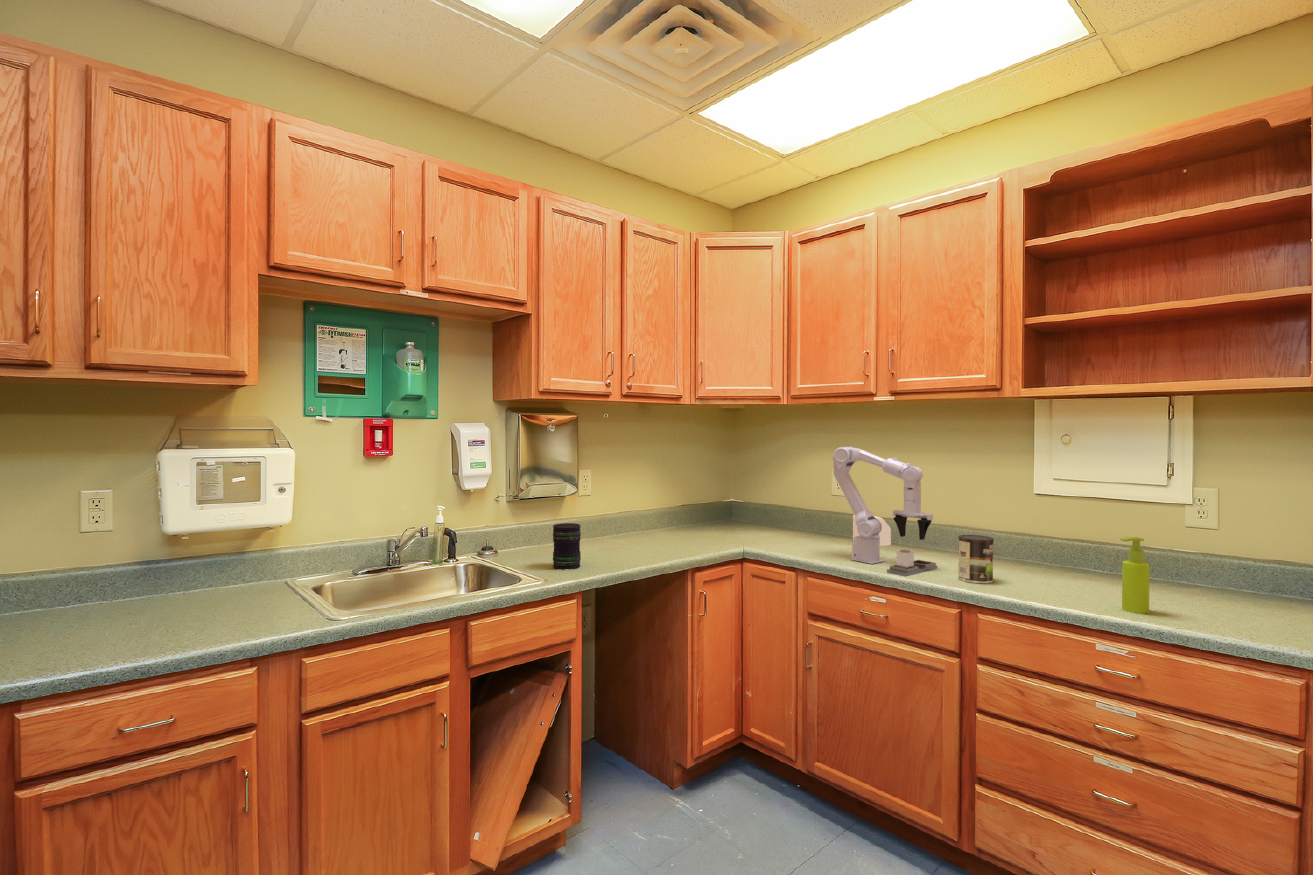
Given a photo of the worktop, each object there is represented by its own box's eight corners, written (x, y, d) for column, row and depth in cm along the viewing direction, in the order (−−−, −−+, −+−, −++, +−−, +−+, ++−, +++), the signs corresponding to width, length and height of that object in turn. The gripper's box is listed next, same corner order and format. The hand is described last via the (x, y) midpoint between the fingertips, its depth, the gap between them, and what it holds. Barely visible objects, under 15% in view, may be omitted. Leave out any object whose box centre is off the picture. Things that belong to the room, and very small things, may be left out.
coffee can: (998, 580, 205) (999, 537, 205) (984, 585, 198) (985, 541, 198) (966, 574, 213) (967, 533, 213) (952, 579, 206) (952, 536, 206)
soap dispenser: (1113, 607, 174) (1113, 535, 174) (1136, 607, 174) (1137, 535, 174) (1130, 613, 168) (1131, 539, 168) (1154, 613, 168) (1155, 539, 168)
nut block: (896, 568, 217) (896, 550, 217) (903, 567, 219) (903, 548, 219) (907, 570, 214) (907, 552, 214) (913, 569, 216) (913, 550, 216)
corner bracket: (852, 542, 274) (853, 514, 274) (874, 540, 277) (875, 513, 277) (868, 546, 264) (868, 518, 263) (890, 545, 267) (890, 517, 267)
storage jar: (547, 568, 222) (547, 526, 222) (563, 562, 230) (563, 522, 230) (570, 571, 217) (570, 528, 217) (586, 565, 226) (586, 524, 226)
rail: (886, 572, 216) (886, 566, 216) (918, 564, 228) (918, 559, 228) (905, 576, 211) (905, 570, 211) (937, 568, 223) (937, 562, 222)
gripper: (937, 501, 221) (937, 539, 221) (900, 497, 233) (900, 534, 233) (926, 502, 217) (926, 541, 217) (889, 498, 229) (889, 535, 229)
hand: (912, 537), depth 225 cm, fingers open, 7 cm apart
